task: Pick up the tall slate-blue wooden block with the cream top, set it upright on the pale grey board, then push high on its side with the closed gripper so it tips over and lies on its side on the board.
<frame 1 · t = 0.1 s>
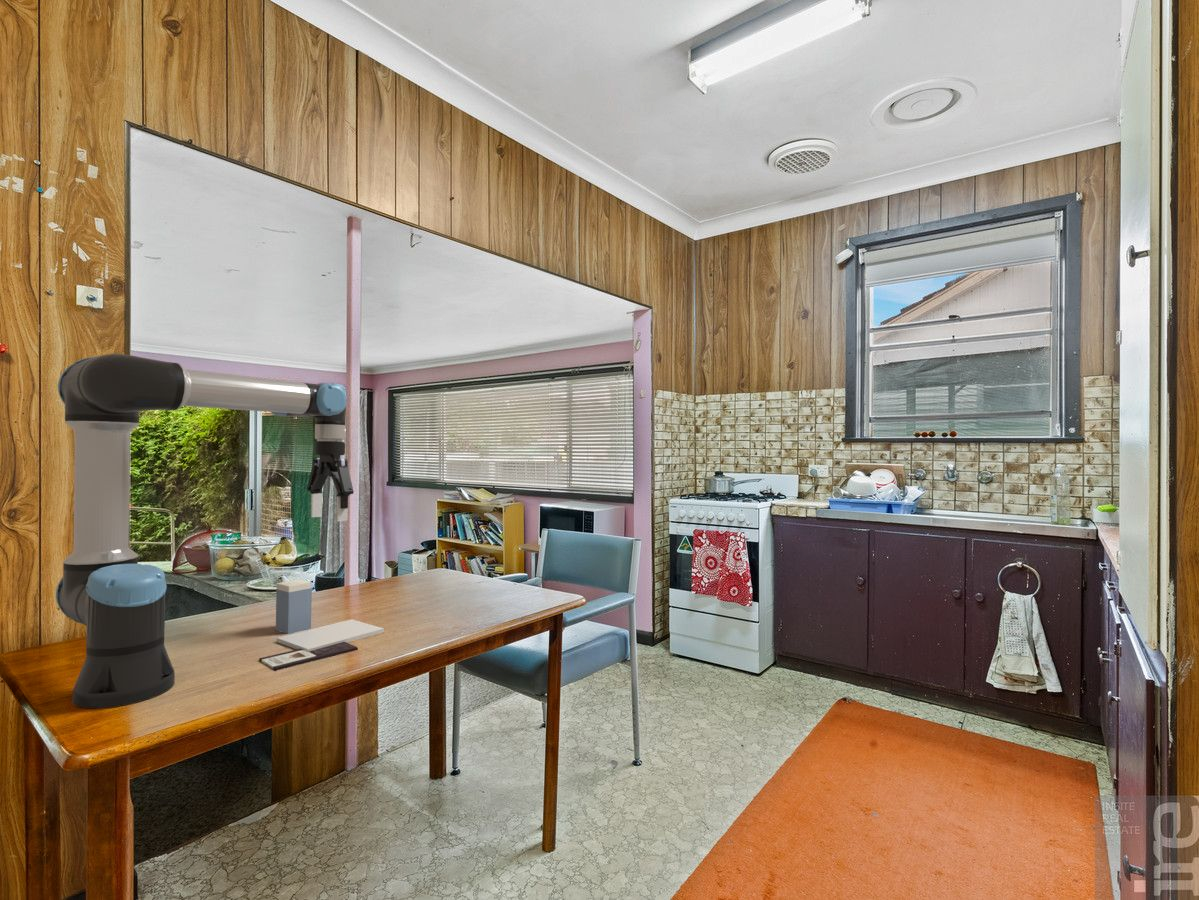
hand: (328, 519, 161), 28 cm above the table, tool pointing down, fingers open, 13 cm apart
board: (331, 637, 148), on the table
chocolate bar: (309, 657, 135), on the table
block: (293, 629, 154), on the table
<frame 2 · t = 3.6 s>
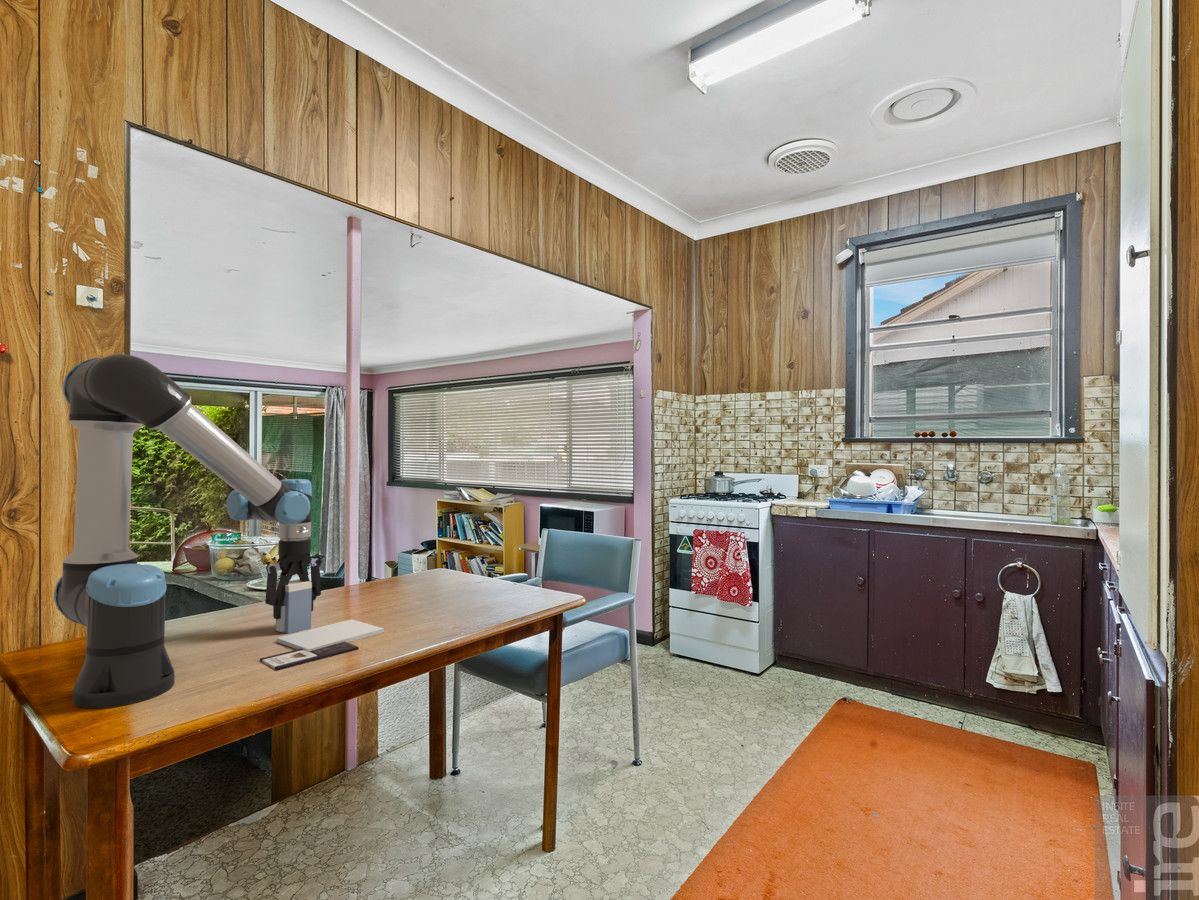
hand: (293, 627, 154), 0 cm above the table, tool pointing down, fingers closed on block, 6 cm apart
block: (293, 629, 154), on the table, touching gripper
everything else where it was.
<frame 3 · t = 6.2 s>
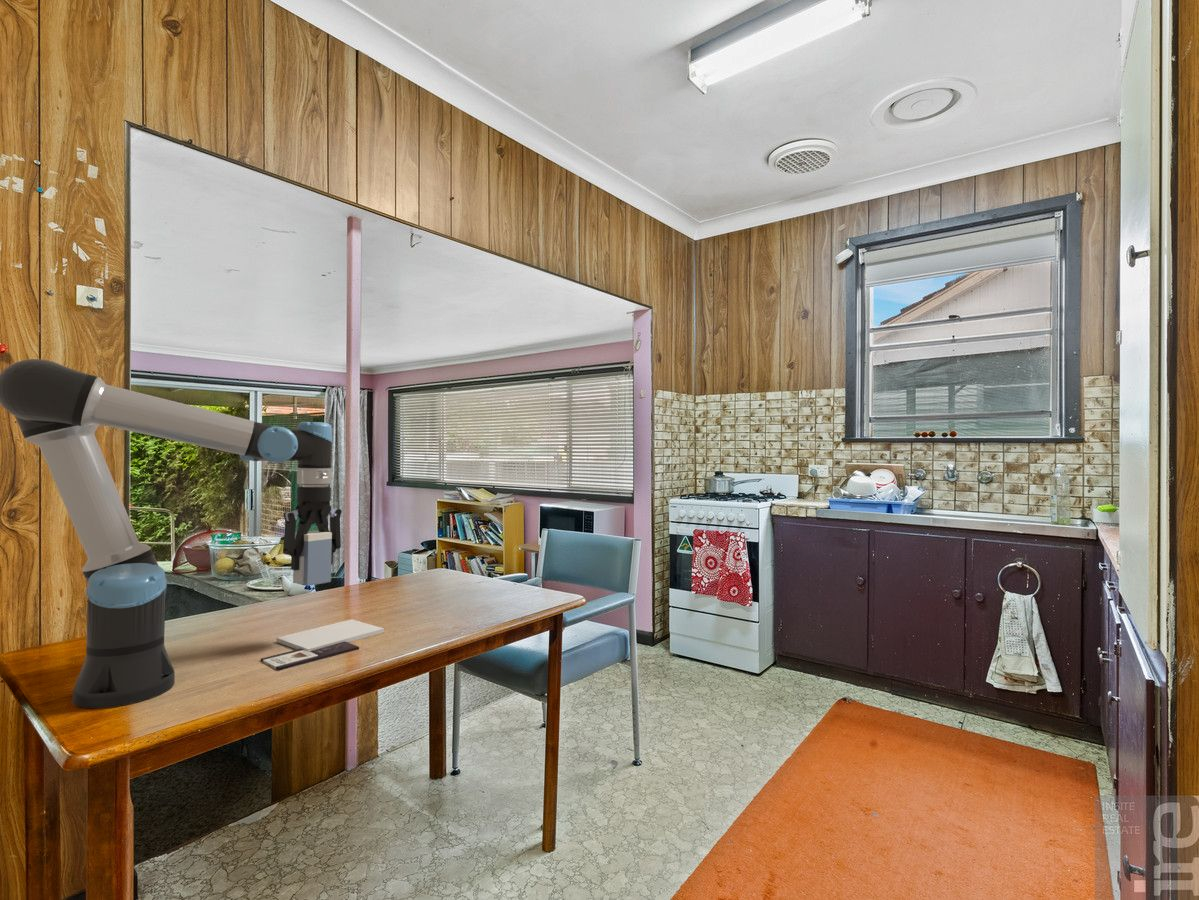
hand: (312, 580, 144), 15 cm above the table, tool pointing down, fingers closed on block, 6 cm apart
block: (312, 582, 144), point 14 cm above the table, touching gripper
everything else where it was.
when the fingers open (3 cm above the table, at t = 8.8 s): block drops 1 cm, resting on board.
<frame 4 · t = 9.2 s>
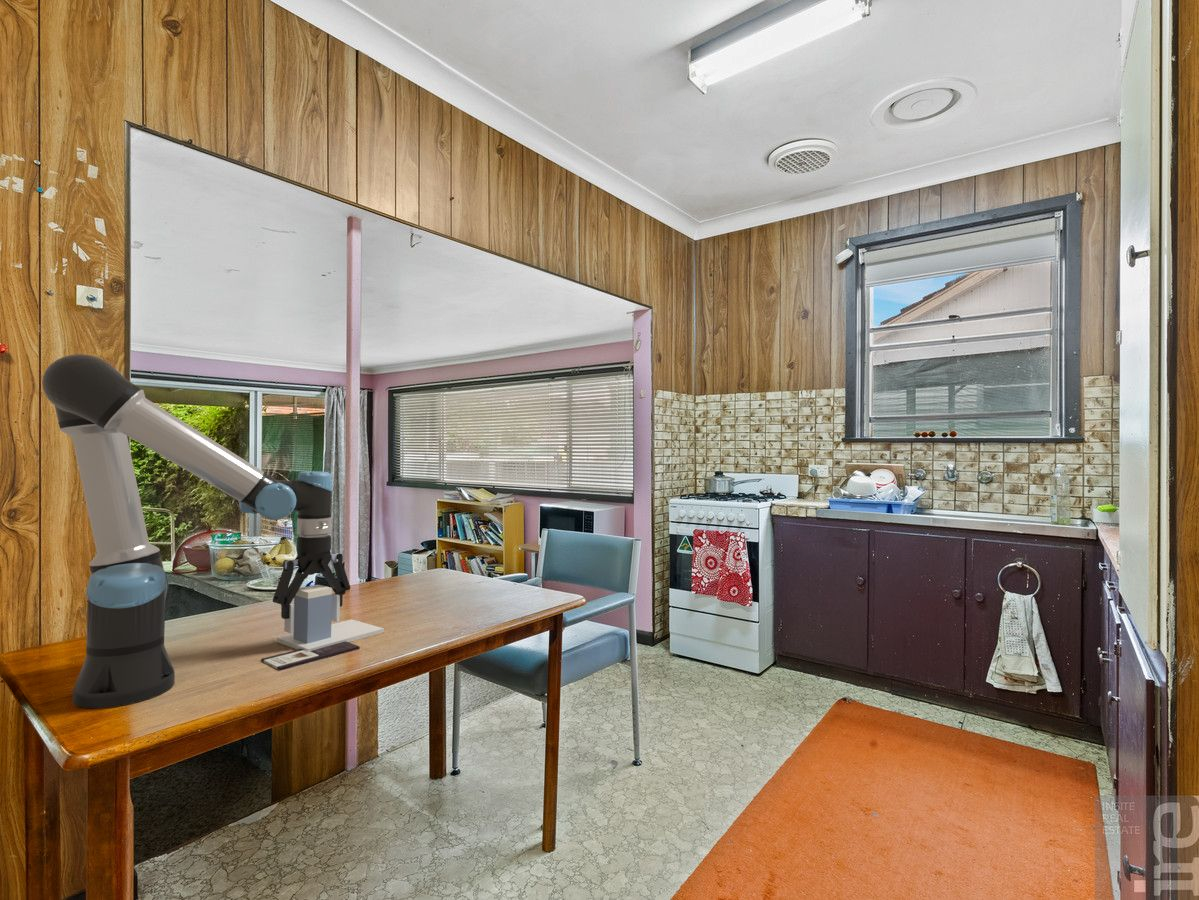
hand: (312, 626, 143), 4 cm above the table, tool pointing down, fingers open, 11 cm apart
block: (312, 638, 143), point 1 cm above the table, touching board
everything else where it was.
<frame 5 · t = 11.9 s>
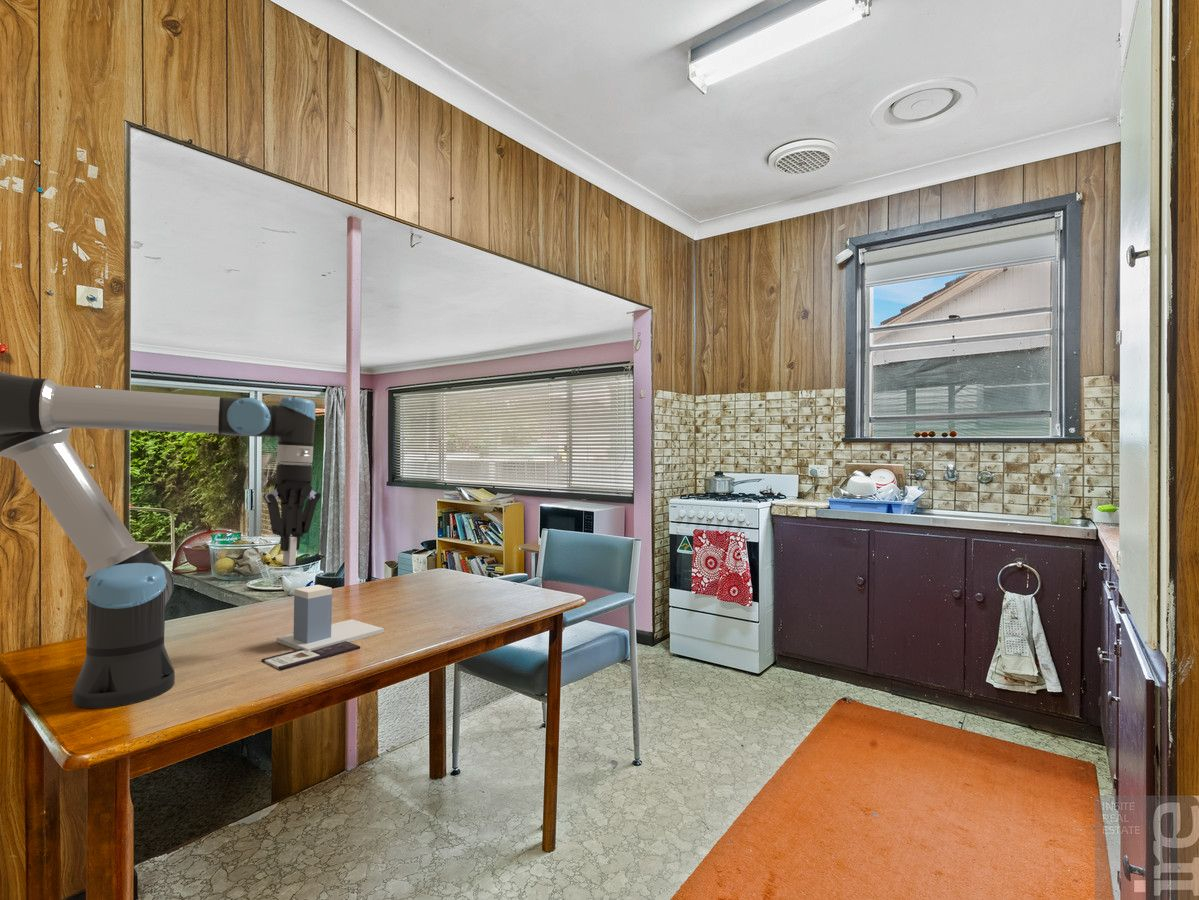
hand: (289, 564, 139), 20 cm above the table, tool pointing down, fingers closed
nothing on the table moved.
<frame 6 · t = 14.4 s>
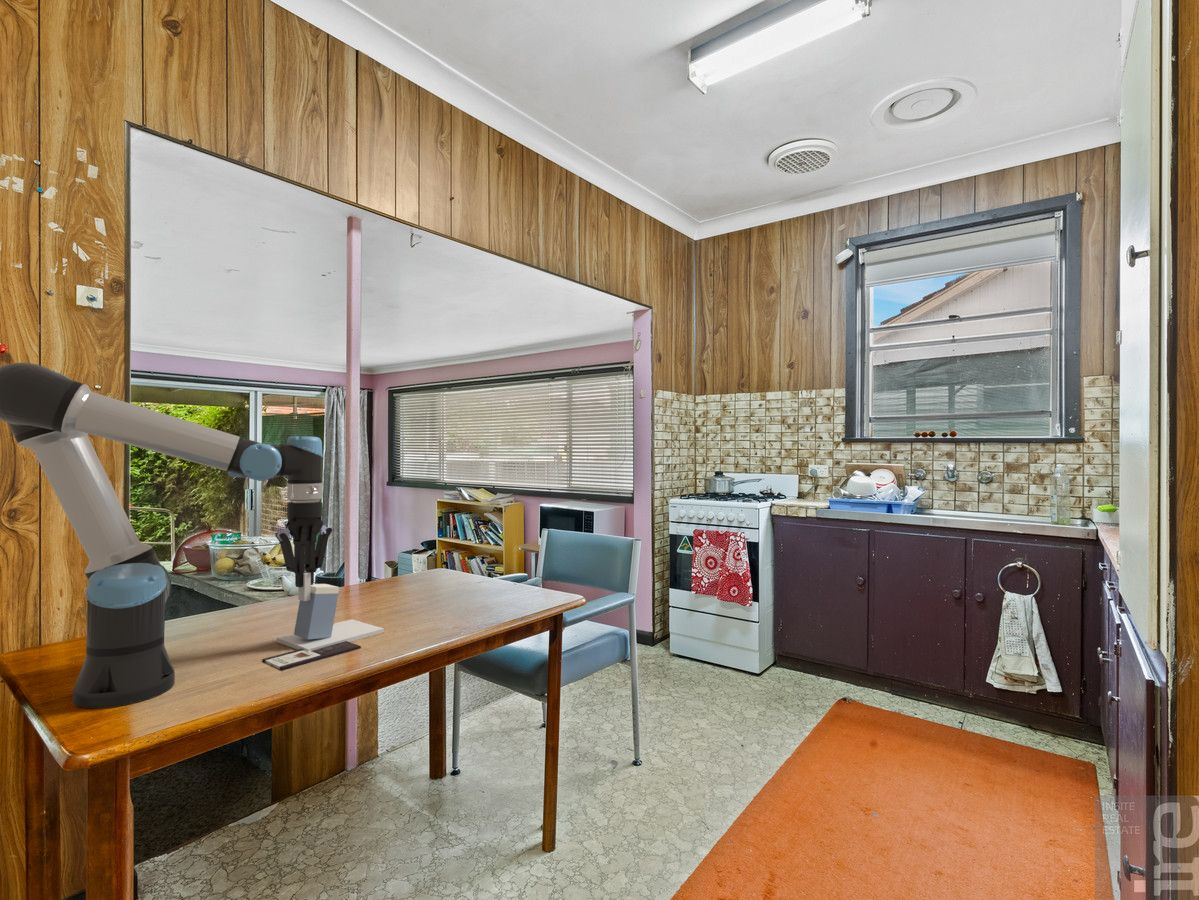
hand: (304, 599, 141), 11 cm above the table, tool pointing down, fingers closed
block: (312, 636, 143), point 1 cm above the table, tilted 9°, touching board
everything else where it was.
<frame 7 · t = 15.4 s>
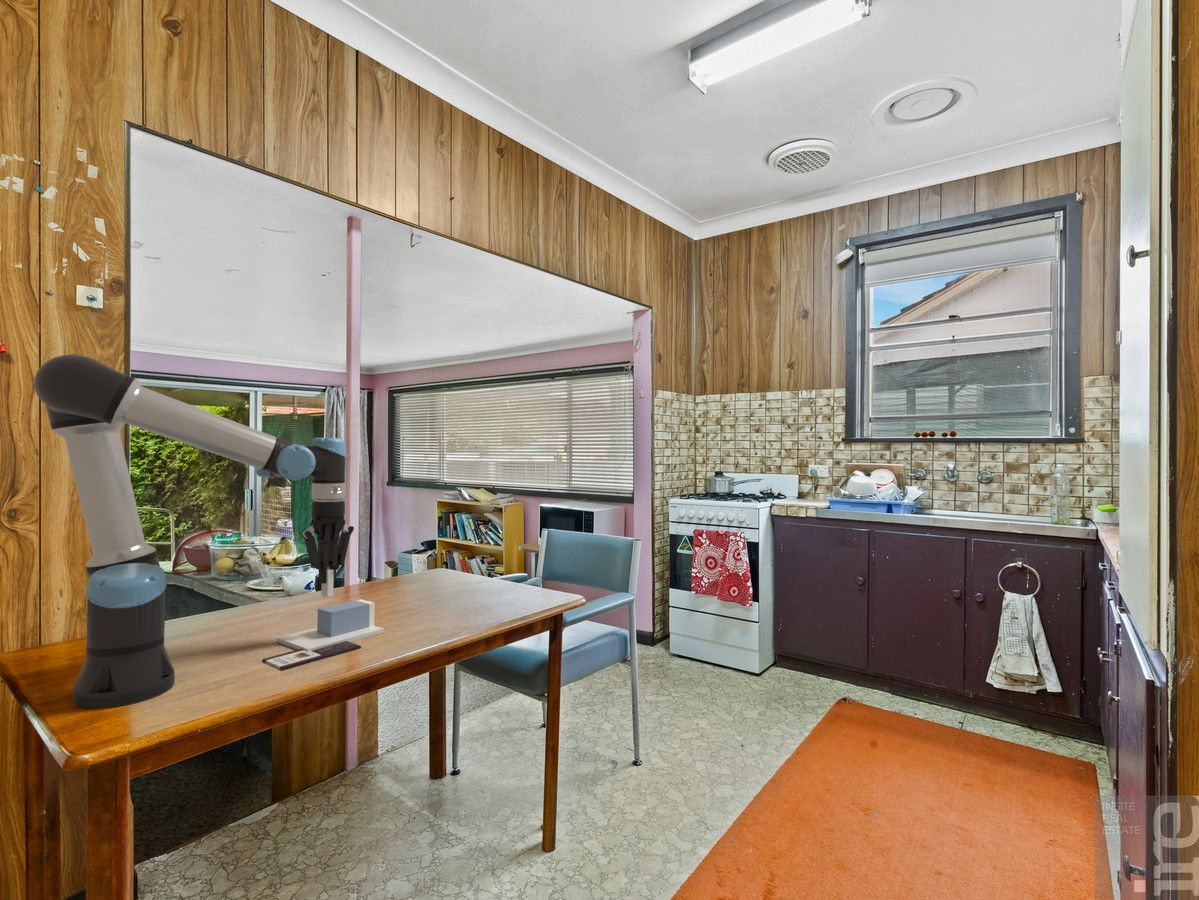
hand: (327, 595, 146), 11 cm above the table, tool pointing down, fingers closed
block: (324, 622, 146), point 4 cm above the table, tilted 90°, touching board
everything else where it was.
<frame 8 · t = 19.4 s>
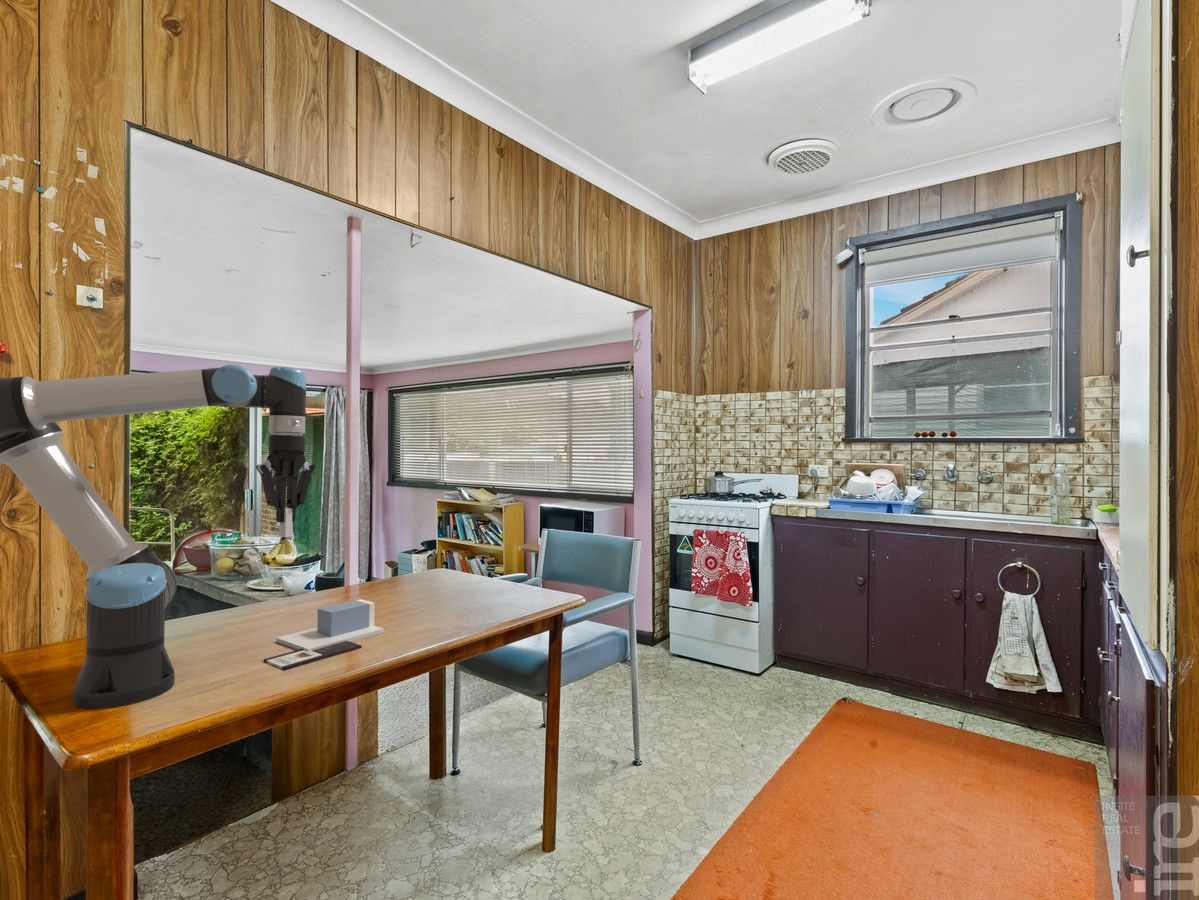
hand: (285, 536, 138), 26 cm above the table, tool pointing down, fingers closed
nothing on the table moved.
at the end: block tilted 90°; block inside the target area (2.0 cm from its centre), point 4.0 cm above the table; the gripper is holding nothing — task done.
